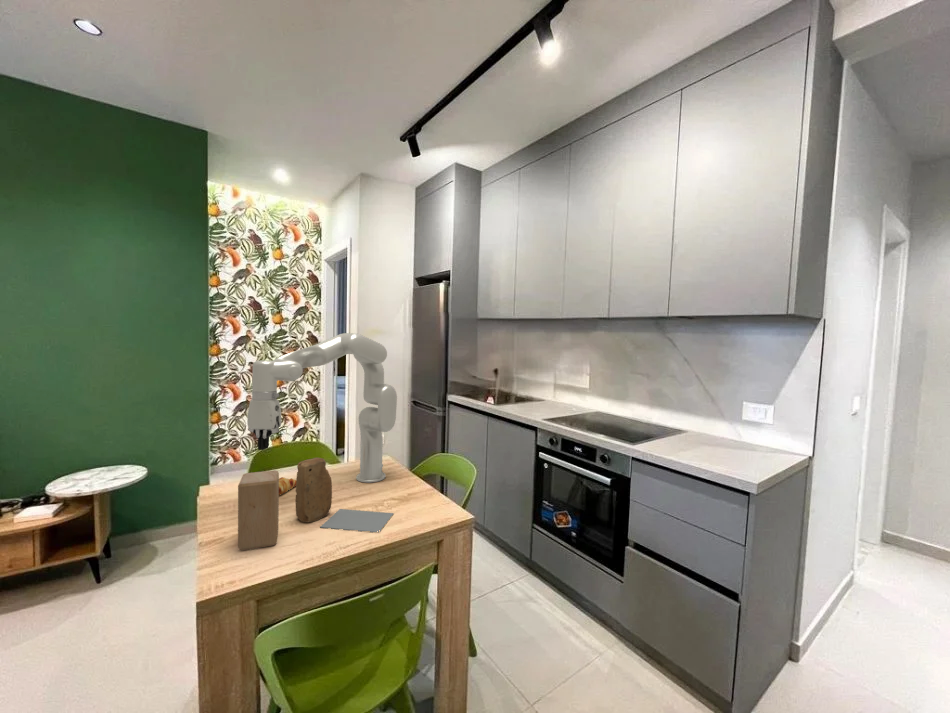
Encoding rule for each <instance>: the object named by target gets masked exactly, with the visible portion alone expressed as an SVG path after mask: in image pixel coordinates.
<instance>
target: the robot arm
mask: <svg viewBox="0 0 950 713" xmlns="http://www.w3.org/2000/svg"><path fill="white" fill-rule="evenodd" d="M345 355H352V356H353V357H354V359H355V360H356V361H357V362H358V363H359V364H360V365H361V366H362V369H363V373H364V375H363V376H364V377H363V378H364V380H363V393H362V394H363V400H364V401H365V402H366V403H368V404H370V405H376V407H375V406H366V407H364V408H362V410H361V411H360V412H359V415H358V425H359V433H360V434H359V436H360V445H359V446H360V451H359V455H360V456H359V460H360V461H359V473H358V474H357V475H356V478H355V479H356V480H357V481H358V482H360V483H366V484H367V483H368V484H371V483H377V482H381V481H383V480H385V479H386V473H385V472H384V471H383V467H384V463H383V445H384V444H383V443H384V439H383V432H384V433H386V432H390V431H392V430H393V428H394V426H395V424H396V418H397V405H398V403H397V402H398V396H397V395H398V394H397V391H396V389H395V388H394V387H393V385H391V384H388V383H385V371H384V365H383V364H382V363H384V362H385V360H386V359H387V357H388V351H387V349H386V347H385V346H384V345H383V344H381V343H380V342H378V341H375V340H373V339H371V338H369V337H367V336H364V335H362V334H359V333H356V332H354V333H353V332H351V333H350V332H349V333H346V332H344V333H340V334H337V335H334V336H333V337H330V338H328V339H326V340H323V341H321V342H318V343H316V344H313V345H310V346H307V347H304V348H300V349H298V350H294V351H291V352H289V353H286V354H283V355H281V356H279V357H276V358H275V359H273V360H255V361H254V362H253V363H252V380H251V381H252V385H251V386H252V387H251V389H252V391H251V399H250V401H249V404H248V409H247V410H248V411H247V421H246V422H247V427H248V431H249V432H251V433H253V434H254V435H255V436H256V439H257V449H258V450H259V451H264V450H266V449H269V445H270V437H271V436H272V435H273V434H276V433H279V432H280V429H279V428H281V427H282V409H281V404H280V400H279V399H277V398H280V394H279V393H278V381H280V382H281V381H282V382H283V381H284V382H294V381H297V380H299V379H300V378H301V376H302V375H303V371H304V370H303V369H307V368H311V367H313V368H314V367H322V366H325V365H327V364H329V363H331V362H334V361H335V360H338V359H339V358H342V357H343V356H345Z"/></svg>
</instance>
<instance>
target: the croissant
mask: <svg viewBox="0 0 950 713" xmlns="http://www.w3.org/2000/svg"><path fill="white" fill-rule="evenodd" d="M295 486H296V479H294V478H290V479H289V478H285V477H279V496H281V495H280V494H282V495H284V494H286V493H287V492H289V491H291V490H292V489H293V487H294V488H296V487H295ZM290 489H291V490H290ZM288 490H289V491H288ZM285 492H286V493H285ZM283 493H284V494H283Z"/></svg>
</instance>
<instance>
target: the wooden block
mask: <svg viewBox="0 0 950 713" xmlns="http://www.w3.org/2000/svg"><path fill="white" fill-rule="evenodd" d="M279 478H280V474H279V470H274V469H273V470H265V471H255V472H245V473H243V474H242V476H241V479H240V481H239V483H238V485H237V491H238V492H237V548H238V551H241V552H242V551H247V550H253V549H259V548H260V549H261V548H264V547H265V548H266V547H271V546H274V545H276V544H277V542H278V535H279V509H280V508H279V504H280V503H279V502H280V500H279V496H280V495H279Z"/></svg>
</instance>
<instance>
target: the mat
mask: <svg viewBox="0 0 950 713" xmlns="http://www.w3.org/2000/svg"><path fill="white" fill-rule="evenodd" d="M393 515H394V513H393V512H382V511H370V510H357V509H346V508H339V509H337V511H335V513H334V514H333V515H332V516H330V517H329V518H328V519H327V520H326V521H325V522H323V524H321V525H320V526H319V528H320V529H328V528H331V530H339V529H343V530H342V531H350V530H358V531H357V532H362V531H370V532H369V533H373V532H377V531H378V532H379V530H380V532H381V531H382V530H383V529H382V527H383V528H385V526H386V525H387V523H388V522H389V521H388V520H390V519H391V518H392V517H391V516H393ZM390 517H391V518H390ZM387 521H388V522H387ZM385 524H386V525H385ZM384 525H385V526H384ZM381 529H382V530H381Z"/></svg>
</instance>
